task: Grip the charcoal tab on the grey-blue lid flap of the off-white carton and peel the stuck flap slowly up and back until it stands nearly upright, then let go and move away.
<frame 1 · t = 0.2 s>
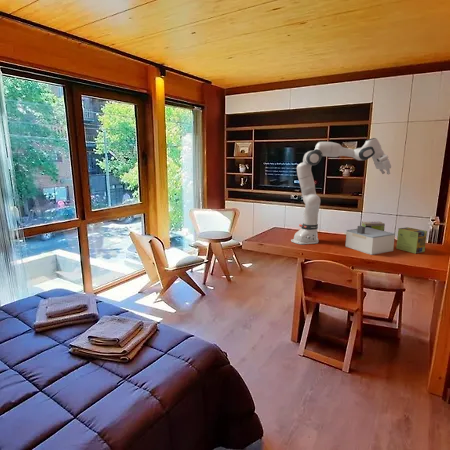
hand: (386, 173, 250), 54 cm above the table, tool tilted 30°, fingers open, 8 cm apart
protein box: (410, 250, 237), on the table
flap: (370, 229, 238), point 15 cm above the table, hinge at 0.0°
carton: (368, 248, 241), on the table
tea box: (371, 240, 267), on the table
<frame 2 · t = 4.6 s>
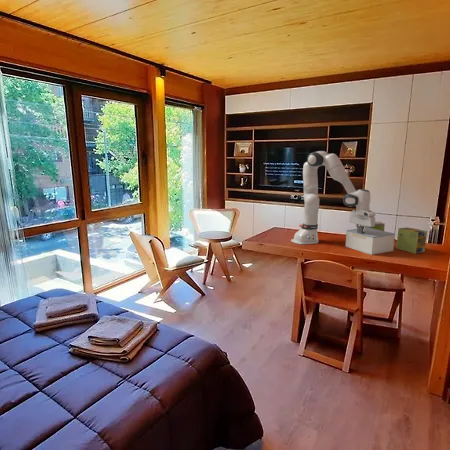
hand: (360, 230, 234), 15 cm above the table, tool pointing down, fingers closed on flap, 4 cm apart
flap: (370, 229, 238), point 15 cm above the table, hinge at 0.0°, touching gripper
everything else where it was.
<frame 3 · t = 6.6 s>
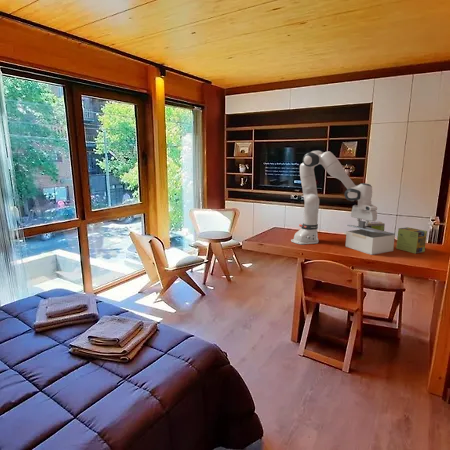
hand: (362, 225, 234), 19 cm above the table, tool pointing down, fingers closed on flap, 4 cm apart
flap: (371, 226, 238), point 17 cm above the table, hinge at 10.7°, touching gripper
everything else where it was.
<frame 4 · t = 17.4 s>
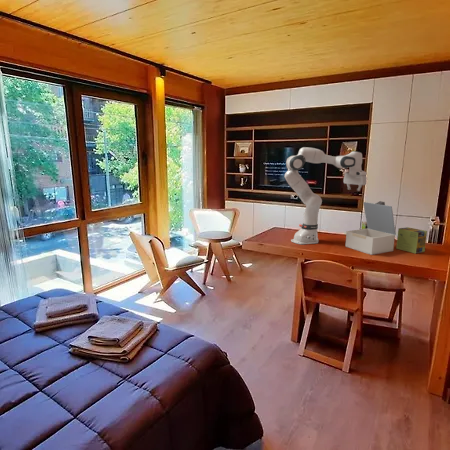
hand: (353, 190, 256), 41 cm above the table, tool pointing down, fingers open, 8 cm apart
flap: (381, 216, 241), point 23 cm above the table, hinge at 71.4°
everything else where it was.
at the end: flap at +71° (first picture: +0°); the gripper is holding nothing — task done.
